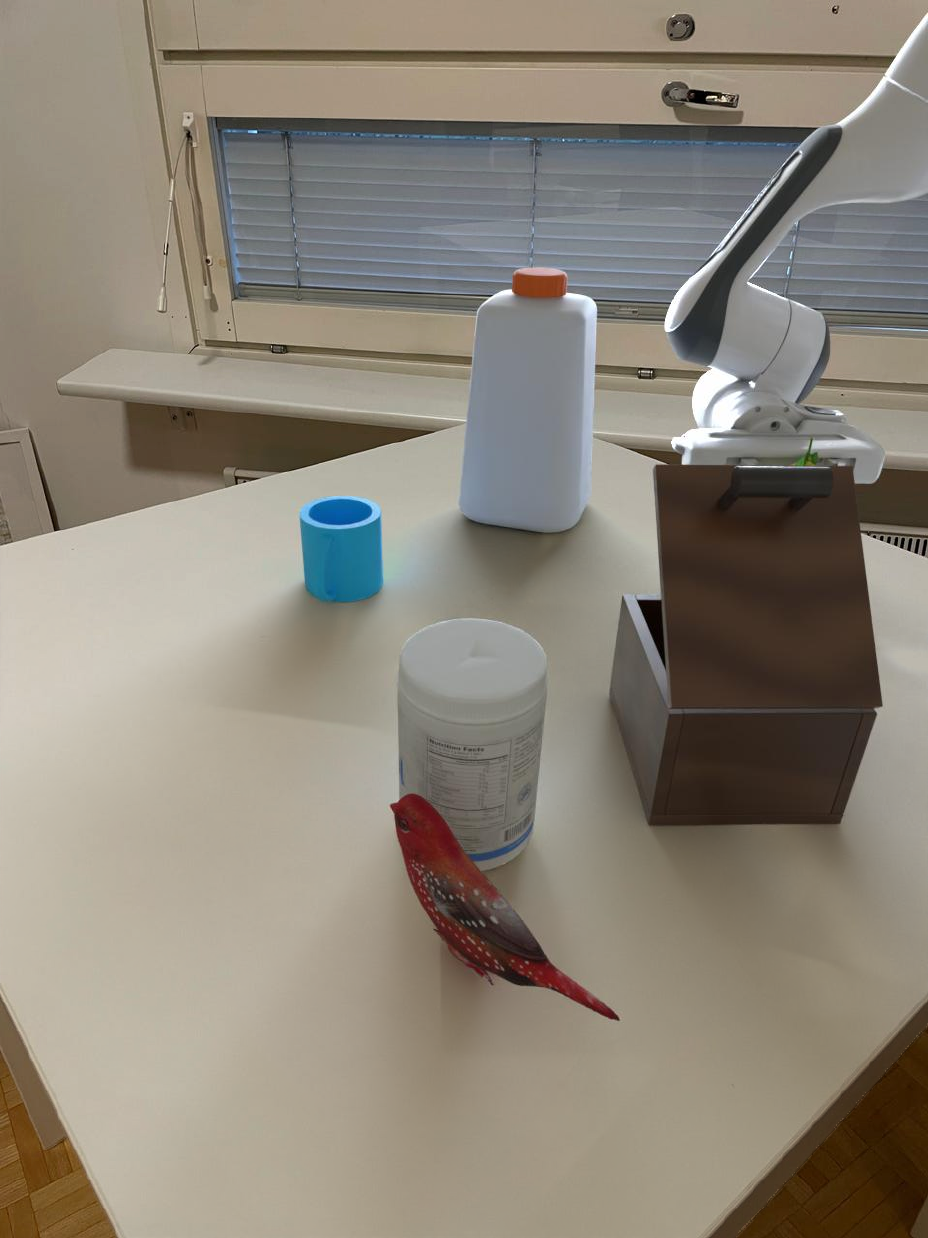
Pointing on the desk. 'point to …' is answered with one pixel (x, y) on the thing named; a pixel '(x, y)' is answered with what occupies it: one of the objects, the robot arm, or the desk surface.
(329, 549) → the mug
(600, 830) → the desk surface
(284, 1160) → the desk surface
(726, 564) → the chest lid
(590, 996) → the decorative bird figurine
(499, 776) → the supplement tub
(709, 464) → the robot arm
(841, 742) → the chest
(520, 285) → the plastic bottle
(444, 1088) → the desk surface
